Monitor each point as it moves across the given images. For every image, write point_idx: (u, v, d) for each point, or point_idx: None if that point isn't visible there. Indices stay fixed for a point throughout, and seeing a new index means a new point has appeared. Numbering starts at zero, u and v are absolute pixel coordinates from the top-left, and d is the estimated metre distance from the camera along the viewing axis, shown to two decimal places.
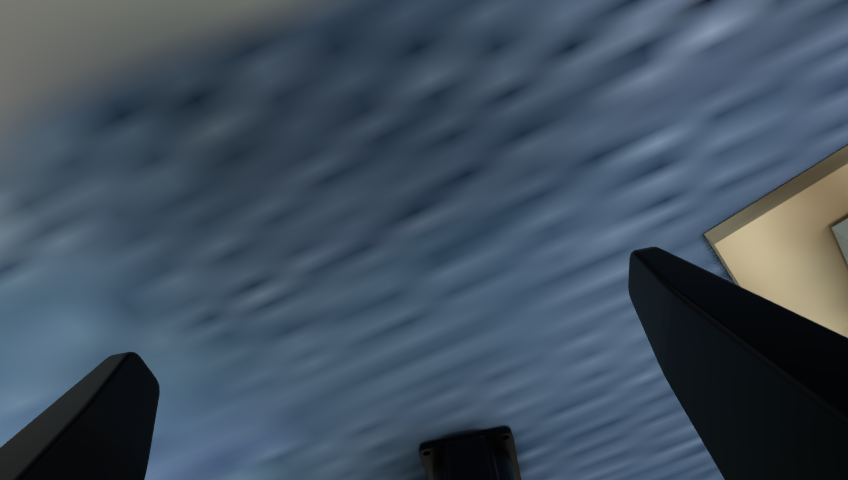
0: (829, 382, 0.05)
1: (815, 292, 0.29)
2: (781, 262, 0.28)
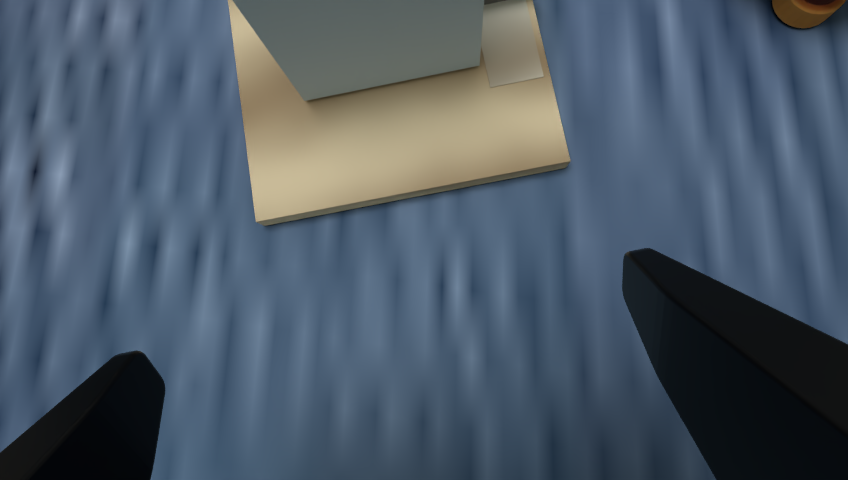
0: (818, 384, 0.05)
1: (408, 123, 0.23)
2: (331, 155, 0.23)
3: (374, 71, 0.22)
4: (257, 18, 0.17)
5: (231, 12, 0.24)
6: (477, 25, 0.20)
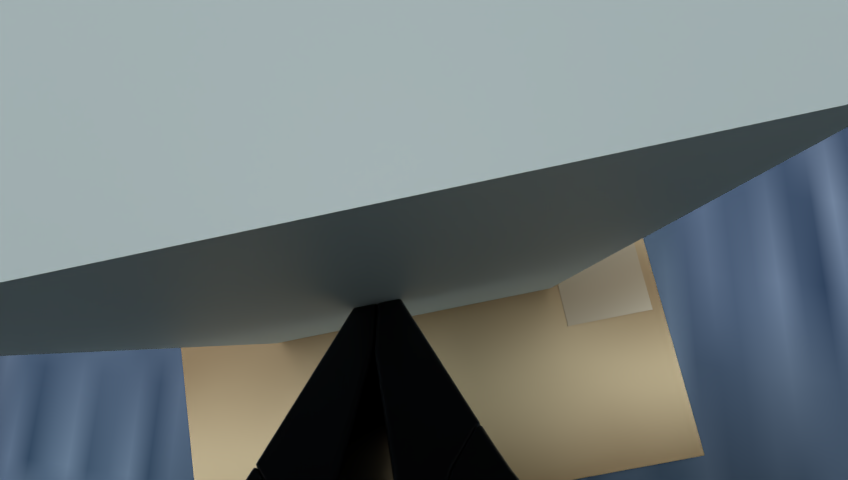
0: (416, 460, 0.06)
1: None
2: None
3: None
4: (163, 345, 0.09)
5: None
6: (564, 277, 0.11)
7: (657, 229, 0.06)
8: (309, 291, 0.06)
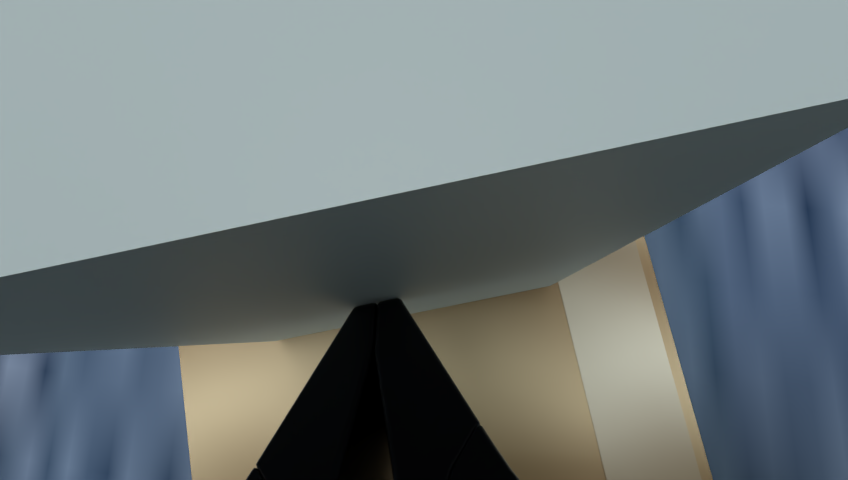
0: (416, 459, 0.06)
1: None
2: None
3: None
4: (159, 344, 0.09)
5: (185, 386, 0.15)
6: (565, 274, 0.11)
7: (660, 226, 0.06)
8: (305, 289, 0.06)
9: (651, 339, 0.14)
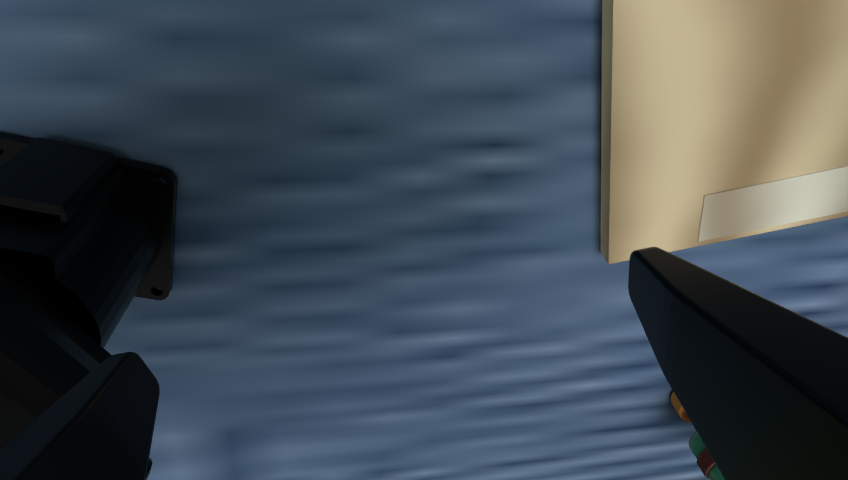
0: (829, 382, 0.05)
1: (692, 112, 0.19)
2: (681, 15, 0.17)
3: None
4: None
5: None
6: None
7: None
8: None
9: (813, 212, 0.23)
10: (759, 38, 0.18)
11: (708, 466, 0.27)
